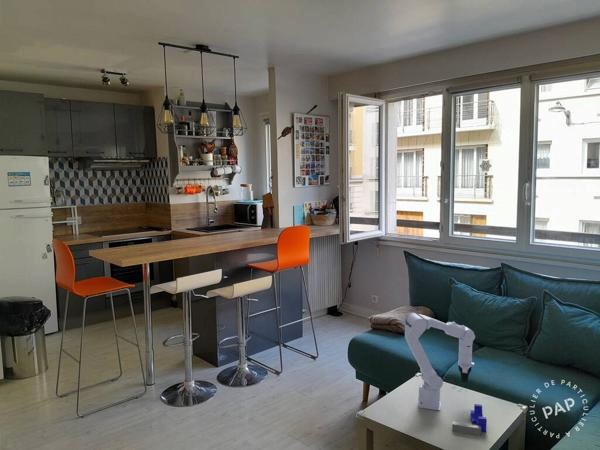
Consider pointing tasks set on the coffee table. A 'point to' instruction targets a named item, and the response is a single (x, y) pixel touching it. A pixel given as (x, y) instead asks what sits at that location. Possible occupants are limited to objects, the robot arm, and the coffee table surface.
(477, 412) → the cable clip
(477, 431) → the socket strip
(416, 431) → the coffee table surface
